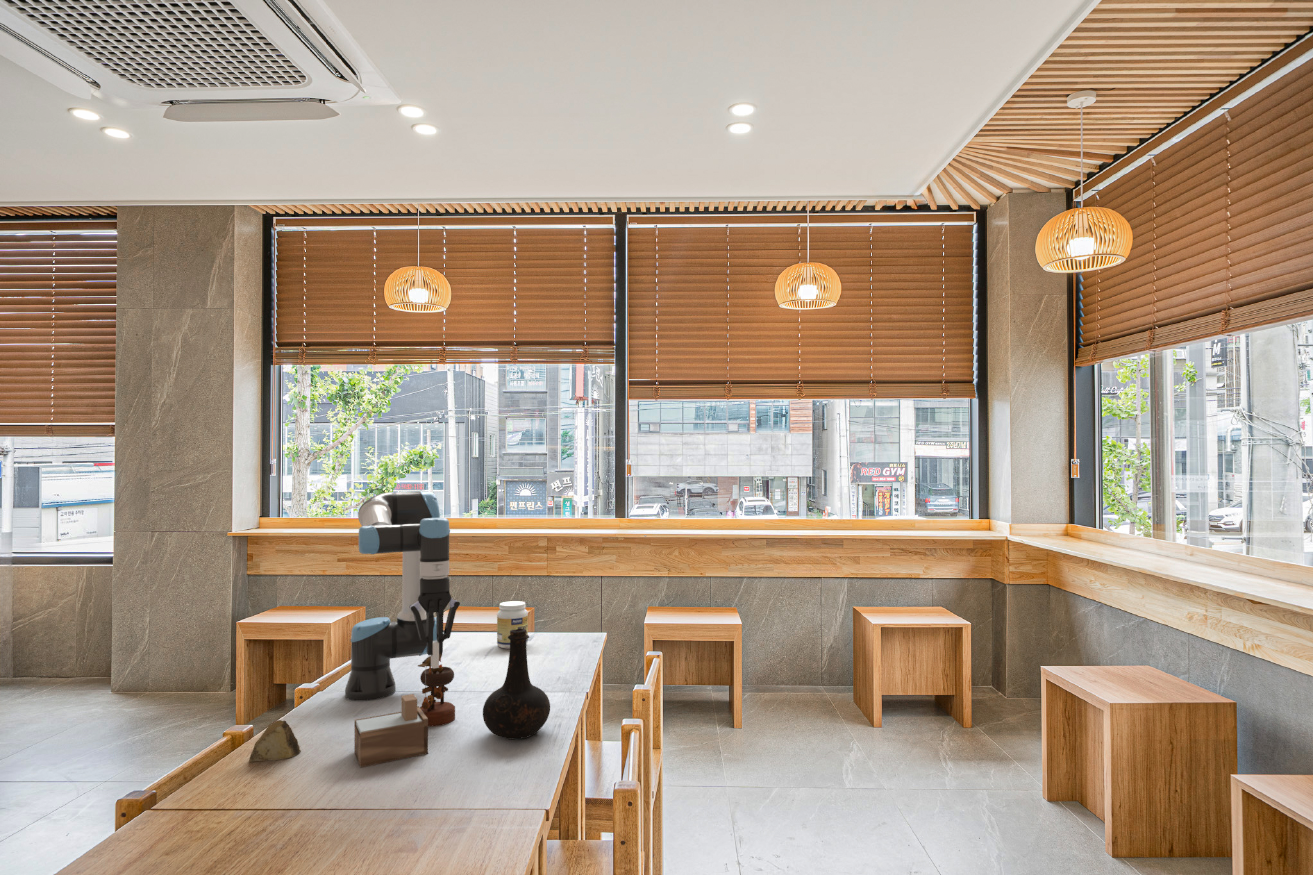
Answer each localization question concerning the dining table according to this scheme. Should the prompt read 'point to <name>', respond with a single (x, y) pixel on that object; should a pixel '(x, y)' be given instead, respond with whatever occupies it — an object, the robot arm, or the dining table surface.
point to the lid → (393, 716)
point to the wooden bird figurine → (436, 693)
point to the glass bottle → (516, 697)
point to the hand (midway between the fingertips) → (434, 666)
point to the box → (391, 742)
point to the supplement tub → (510, 621)
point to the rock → (275, 743)
